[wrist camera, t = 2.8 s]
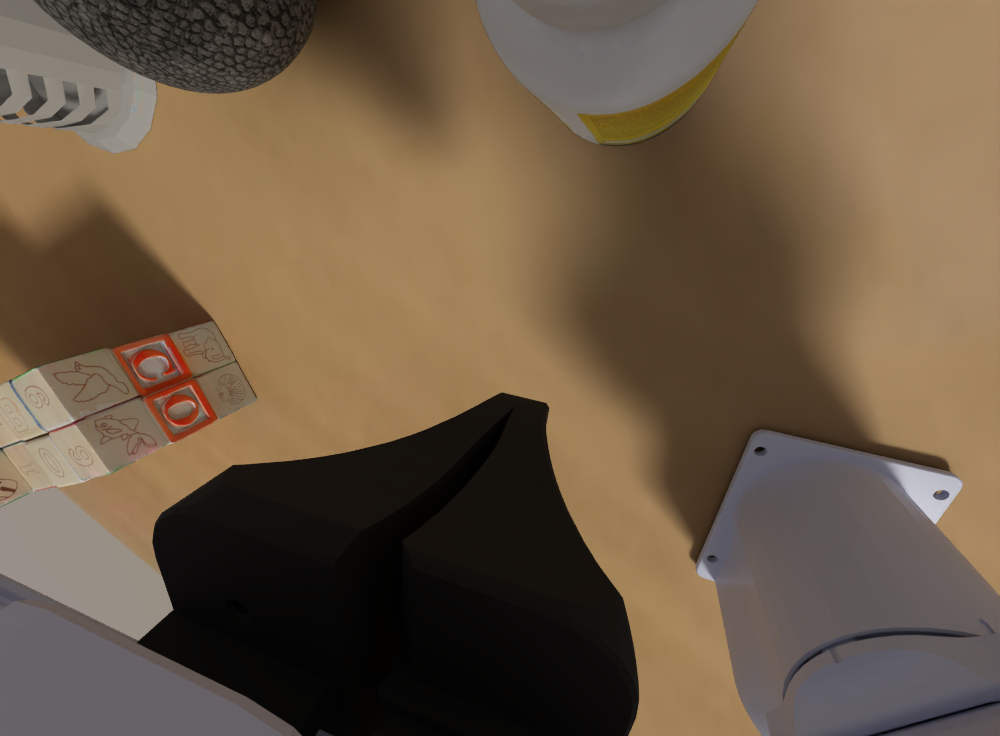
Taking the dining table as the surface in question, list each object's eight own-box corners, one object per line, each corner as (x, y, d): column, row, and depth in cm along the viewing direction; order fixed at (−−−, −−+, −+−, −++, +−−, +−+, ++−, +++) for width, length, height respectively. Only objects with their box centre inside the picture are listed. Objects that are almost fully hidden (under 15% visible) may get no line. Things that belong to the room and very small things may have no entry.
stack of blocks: (215, 315, 27) (-63, 394, 16) (261, 398, 29) (36, 519, 18) (63, 381, 36) (-188, 461, 25) (106, 442, 37) (-112, 543, 27)
